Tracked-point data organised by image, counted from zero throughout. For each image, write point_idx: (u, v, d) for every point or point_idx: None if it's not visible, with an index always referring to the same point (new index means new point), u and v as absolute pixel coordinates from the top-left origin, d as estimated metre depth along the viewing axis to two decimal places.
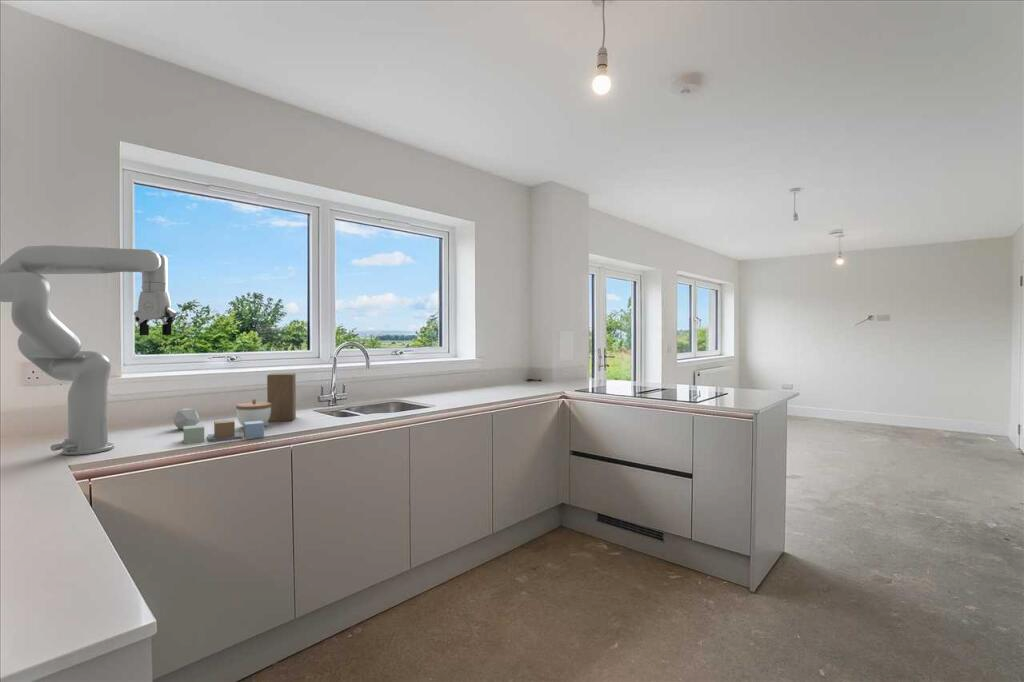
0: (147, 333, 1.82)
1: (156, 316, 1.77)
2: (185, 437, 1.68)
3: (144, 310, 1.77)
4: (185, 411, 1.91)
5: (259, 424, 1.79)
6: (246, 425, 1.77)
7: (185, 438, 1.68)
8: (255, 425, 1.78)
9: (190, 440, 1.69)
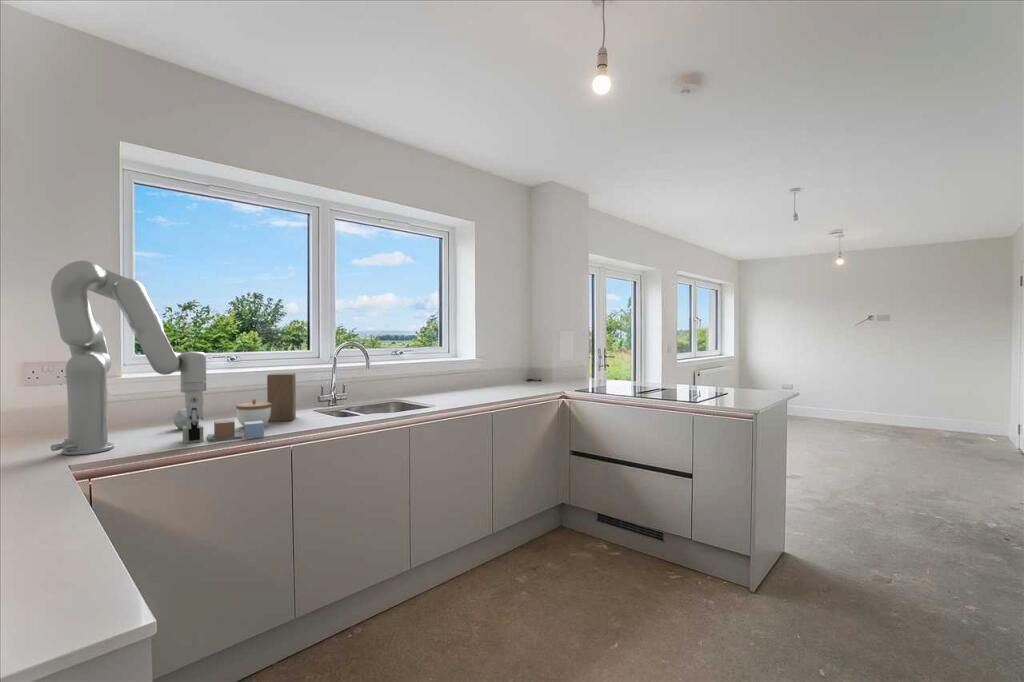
0: None
1: None
2: (184, 437, 1.68)
3: (203, 410, 1.72)
4: (185, 411, 1.91)
5: (259, 424, 1.79)
6: (246, 425, 1.77)
7: (184, 438, 1.68)
8: (255, 425, 1.78)
9: None
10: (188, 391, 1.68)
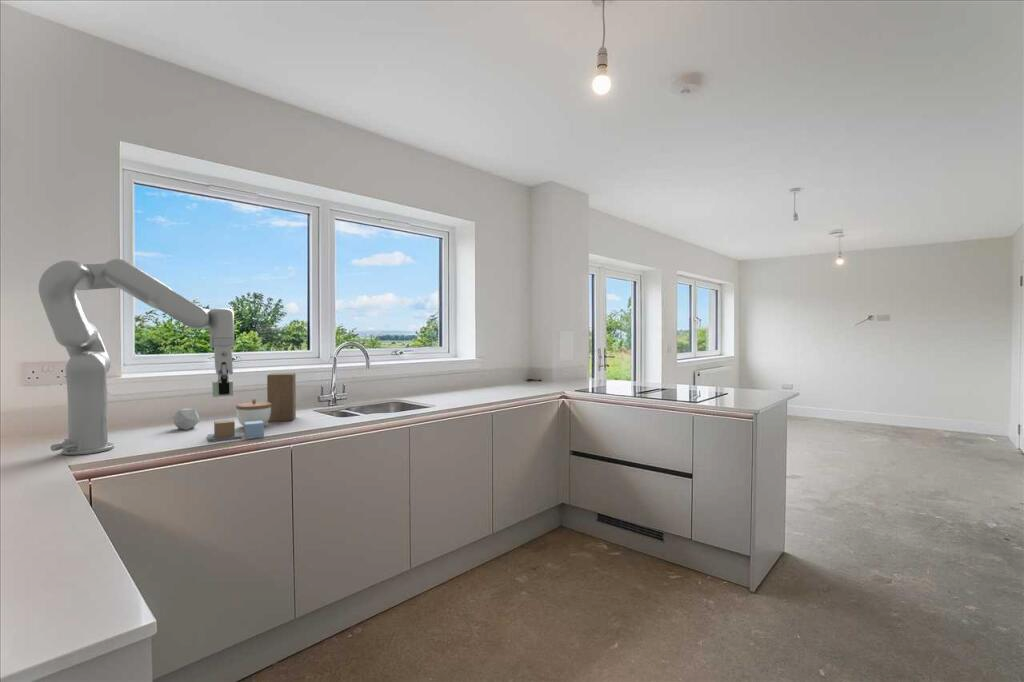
0: None
1: None
2: (215, 390, 1.73)
3: None
4: (185, 411, 1.91)
5: (259, 424, 1.79)
6: (246, 425, 1.77)
7: (215, 391, 1.73)
8: (255, 425, 1.78)
9: (219, 394, 1.74)
10: (217, 346, 1.73)
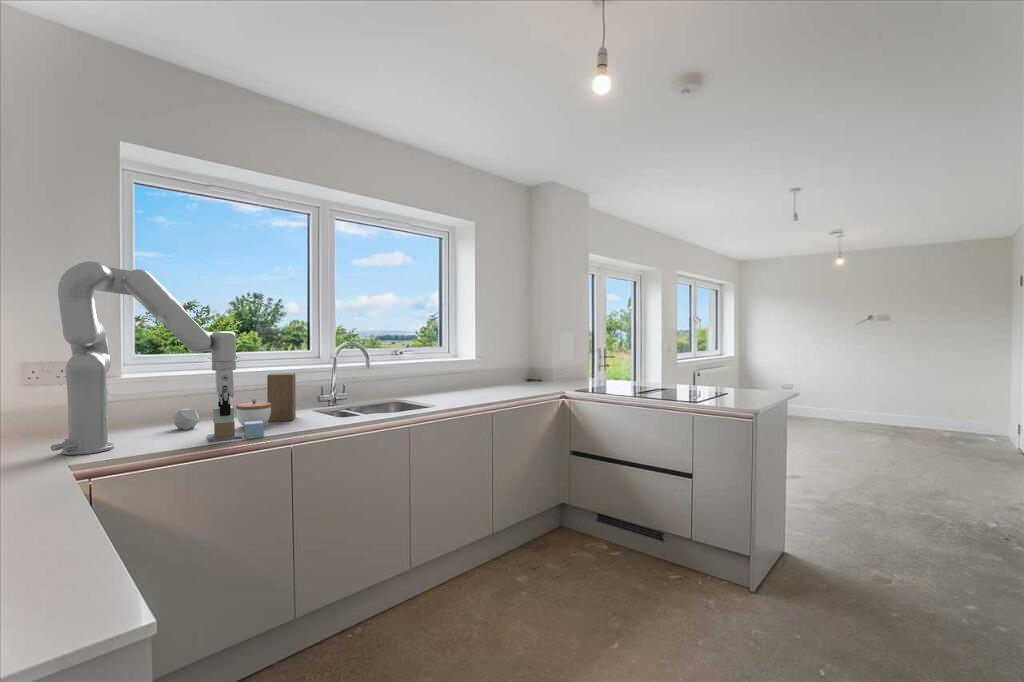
0: None
1: None
2: (215, 417, 1.73)
3: None
4: (185, 411, 1.91)
5: (259, 424, 1.79)
6: (246, 425, 1.77)
7: (215, 418, 1.73)
8: (255, 425, 1.78)
9: (220, 420, 1.74)
10: (219, 369, 1.73)
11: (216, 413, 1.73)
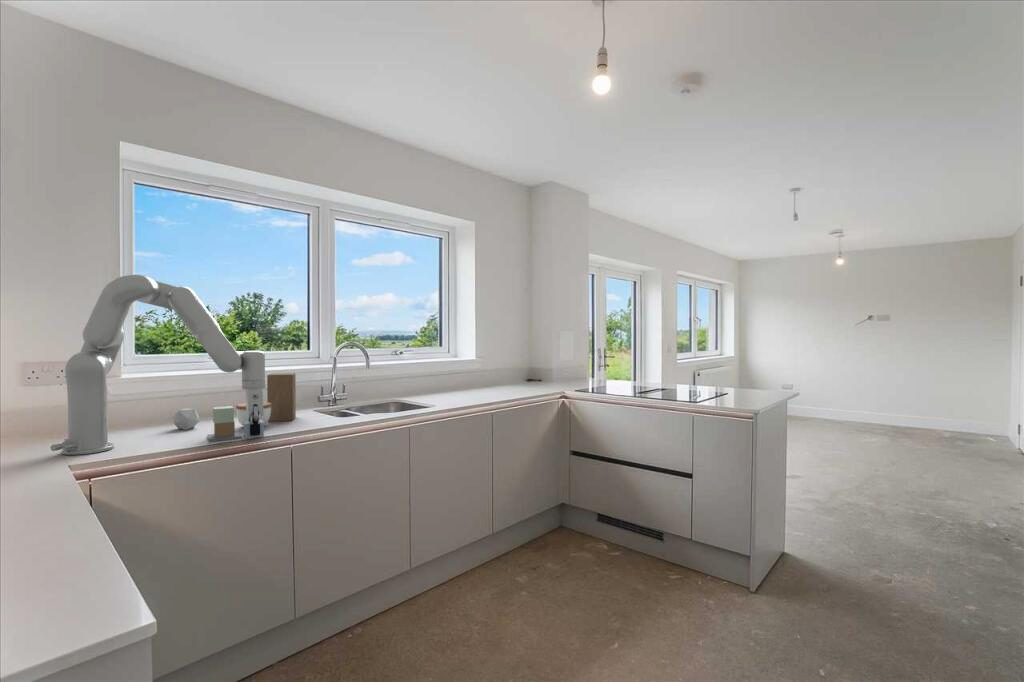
0: None
1: None
2: (215, 417, 1.73)
3: None
4: (185, 411, 1.91)
5: None
6: (246, 425, 1.77)
7: (215, 418, 1.73)
8: None
9: (220, 420, 1.74)
10: (249, 388, 1.77)
11: (216, 413, 1.73)
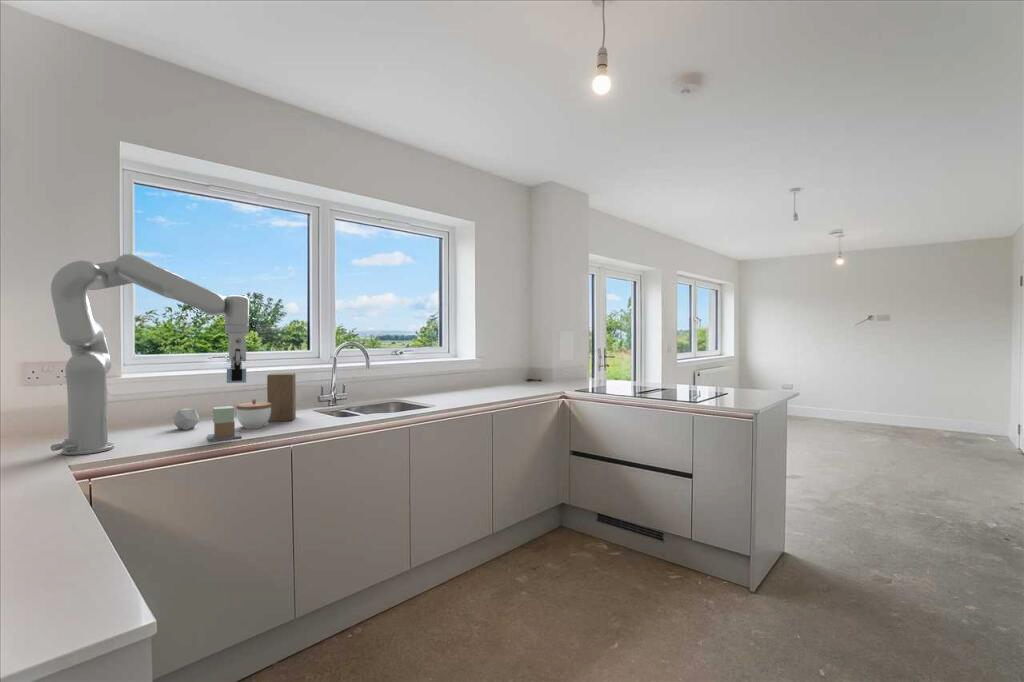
0: None
1: None
2: (215, 417, 1.73)
3: None
4: (185, 411, 1.91)
5: None
6: (228, 369, 1.74)
7: (215, 418, 1.73)
8: None
9: (220, 420, 1.74)
10: (232, 332, 1.74)
11: (216, 413, 1.73)
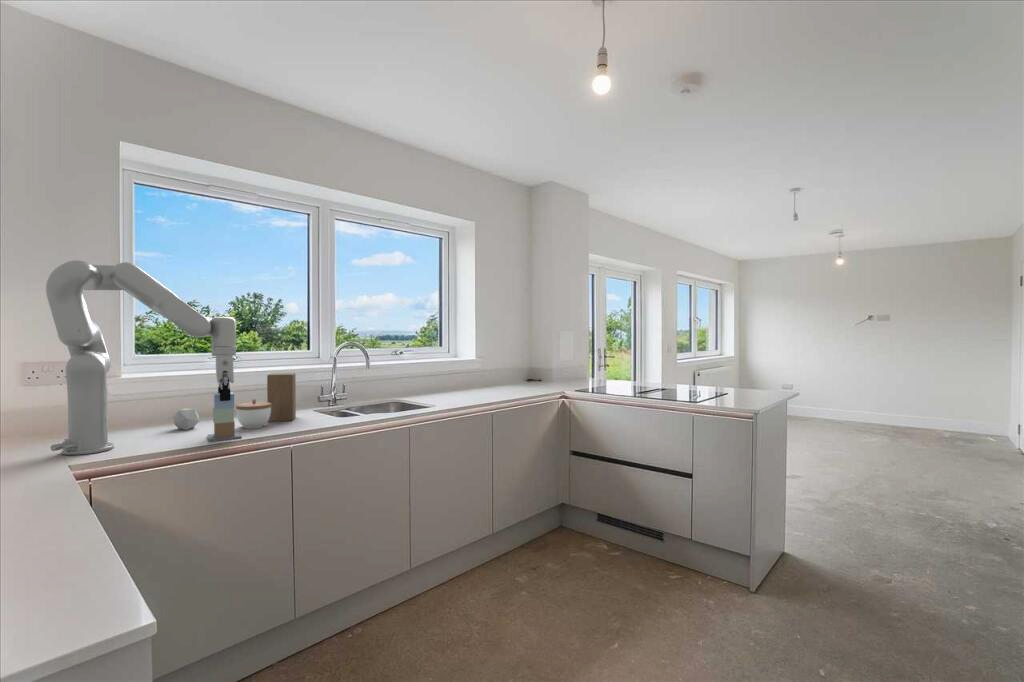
0: None
1: None
2: (215, 417, 1.73)
3: None
4: (185, 411, 1.91)
5: None
6: (215, 396, 1.73)
7: (215, 418, 1.73)
8: None
9: (220, 420, 1.74)
10: (219, 354, 1.73)
11: (216, 413, 1.73)
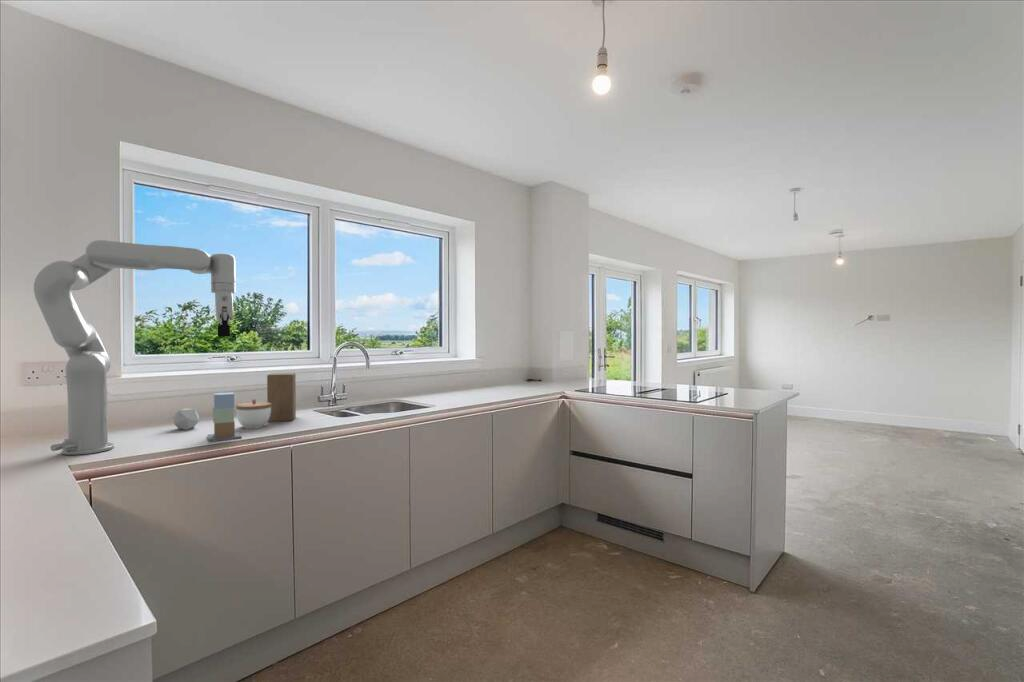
0: None
1: (231, 318, 1.81)
2: (215, 417, 1.73)
3: None
4: (185, 411, 1.91)
5: (229, 395, 1.75)
6: (215, 396, 1.73)
7: (215, 418, 1.73)
8: (225, 396, 1.75)
9: (220, 420, 1.74)
10: (219, 290, 1.73)
11: (216, 413, 1.73)
